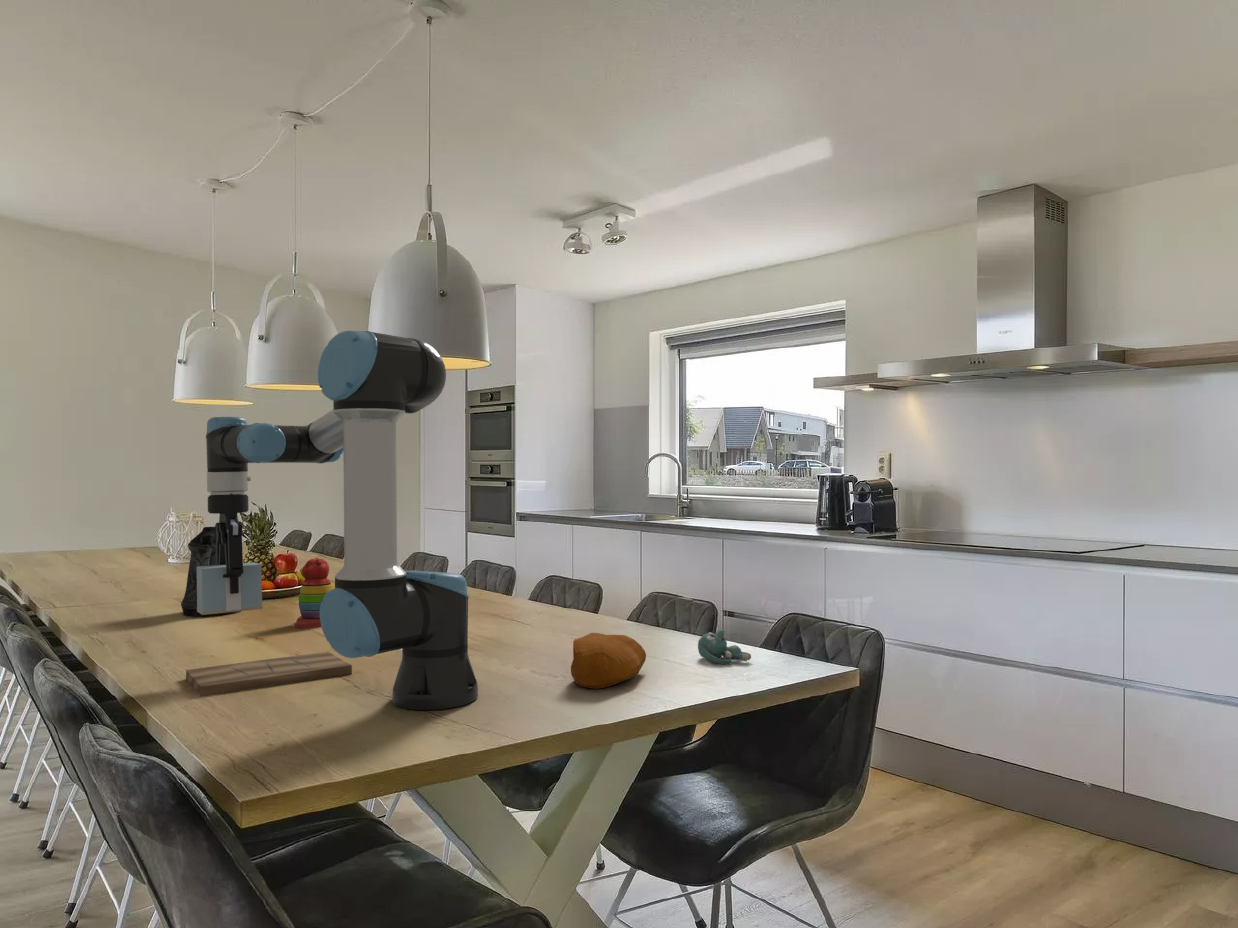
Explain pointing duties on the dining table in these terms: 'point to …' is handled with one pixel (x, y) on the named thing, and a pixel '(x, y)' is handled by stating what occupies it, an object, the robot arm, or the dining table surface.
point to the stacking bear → (313, 592)
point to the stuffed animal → (719, 649)
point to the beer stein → (200, 556)
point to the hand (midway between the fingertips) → (229, 607)
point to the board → (266, 673)
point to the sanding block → (213, 588)
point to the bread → (605, 659)
